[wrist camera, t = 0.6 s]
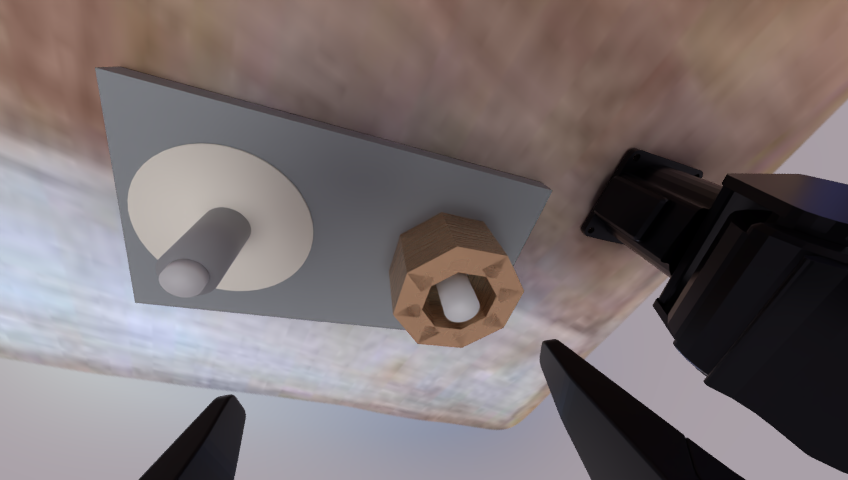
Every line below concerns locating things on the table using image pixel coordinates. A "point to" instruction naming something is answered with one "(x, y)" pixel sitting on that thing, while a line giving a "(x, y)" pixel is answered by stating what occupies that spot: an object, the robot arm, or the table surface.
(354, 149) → the board
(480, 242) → the wooden ring
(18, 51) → the table surface
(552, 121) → the table surface
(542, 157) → the table surface
